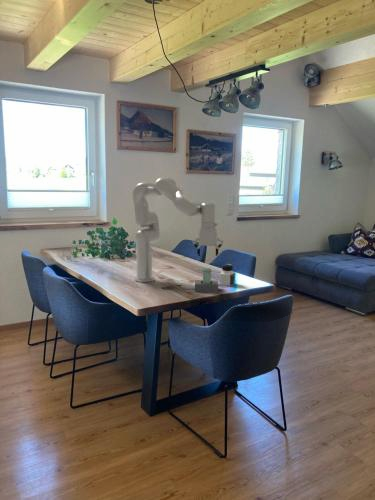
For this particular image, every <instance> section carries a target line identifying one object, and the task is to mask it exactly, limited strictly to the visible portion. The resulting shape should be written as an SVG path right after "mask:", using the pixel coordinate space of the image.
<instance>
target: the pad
mask: <svg viewBox="0 0 375 500" xmlns="http://www.w3.org/2000/svg"><path fill="white" fill-rule="evenodd" d="M182 285H183V284H182ZM182 290H195V285H192V284H191V285H183V286H182Z"/></svg>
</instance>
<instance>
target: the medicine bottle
mask: <svg viewBox="0 0 375 500" xmlns="http://www.w3.org/2000/svg"><path fill="white" fill-rule="evenodd" d="M221 267H222V270H221V272H220V273H219V279H218V280H219V281H218V285H219V286H227V287H231V286H233V285H234V284H235V283H236V282H235V281H236V279H235V278H236V273H235V272H233V265H232V264H230V263H227V264H226V263H225V264H222V266H221Z"/></svg>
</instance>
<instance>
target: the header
mask: <svg viewBox="0 0 375 500" xmlns="http://www.w3.org/2000/svg"><path fill="white" fill-rule="evenodd" d="M194 282H195V283H194V286H195V289H194V293H219V281H218V280H215V279H214V280H212V279H211V284H203V279H195V281H194Z"/></svg>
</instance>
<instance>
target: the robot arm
mask: <svg viewBox="0 0 375 500" xmlns="http://www.w3.org/2000/svg"><path fill="white" fill-rule="evenodd" d="M159 196H164V197H166V198H167V199H169V200H170V201H171V202H172V203H173V205H174V206H175V208H176V209H177V210H178V211H180V212H181V213H183V214H184V215H185V216H187V217H198V216H201V218H200V219H201V221H200V222H201V226H200V227H199V232H198V237H197V238H195V239H194V240H192V241H191V242H192V244H193V246H194V247H195V248H196V249H197V253H196V254H197V255H198V257H200V256H201V247H203V246H205V247H215V257H218V255H219V249H220V248H221V247H222V246H223V244H224V240H222V239H220V238H218V233H217V232H218V231H217V230H218V229H217V226H218V223H217V222H216V205H215V203H213V202H200V201H199V202H198V201H197V202H196V201H195V202H194V201H193V202H191V201H190V200H188V199H187V198H185V197H184V196H183V190H182V189H181V188H179V187H178V186H177V182H176V181H175V180H174V179H172V178H170V177H169V178H168V177H160V178H158V179H157V180H155V182H154V181H153V182H150V181H149V182H147V181H143V182H140V183H137V185H135V187H134V188H133V190H132V200H133V206H134V218H135V224H136V226H138V227H140V228H143V229H140V230H137V232H135V235H134V241H135V243H134V244H135V248H136V249H135V250H136V276H135V277H134V278H133V280H134V281H135V282H139V283H148V282H149V283H151V282H154V281H155V279H156V278H155V277H154V276H153V249H152V247H151V244H155V243H156V242H158V241H159V239H160V237H161V236H160V224H159V222H160V221H159V217H158V214H157V213H156V212H155V211H153V210H149V209H150V208H149V203H148V200H147V197H150V198H151V197H159ZM196 242H198V244H197V243H196ZM218 242H219V244H218Z"/></svg>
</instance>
